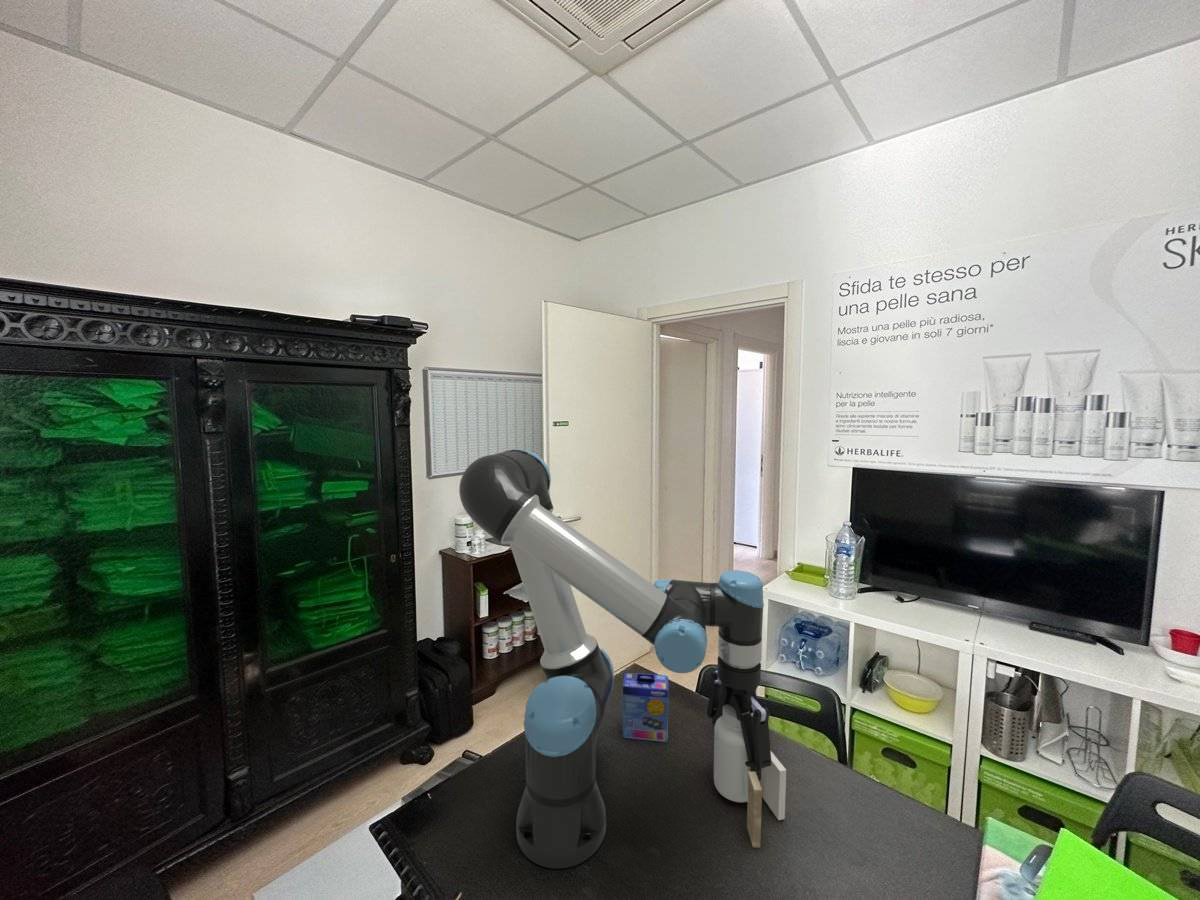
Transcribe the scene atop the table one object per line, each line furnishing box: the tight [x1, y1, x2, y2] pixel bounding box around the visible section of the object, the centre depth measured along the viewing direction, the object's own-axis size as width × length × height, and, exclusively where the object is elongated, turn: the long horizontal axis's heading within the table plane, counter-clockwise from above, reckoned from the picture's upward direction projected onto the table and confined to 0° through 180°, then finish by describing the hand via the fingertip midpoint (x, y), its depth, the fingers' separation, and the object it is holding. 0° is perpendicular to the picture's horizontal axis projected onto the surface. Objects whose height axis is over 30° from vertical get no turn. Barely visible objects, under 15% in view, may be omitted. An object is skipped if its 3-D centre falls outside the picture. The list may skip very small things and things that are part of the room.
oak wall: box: [746, 771, 763, 849], centre depth 90 cm, size 1×29×10 cm, turn 177°
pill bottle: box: [713, 704, 755, 803], centre depth 86 cm, size 8×8×15 cm
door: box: [759, 749, 787, 821], centre depth 90 cm, size 1×21×9 cm, turn 13°
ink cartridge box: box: [622, 672, 670, 743], centre depth 102 cm, size 10×6×14 cm, turn 83°
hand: (735, 776), depth 87 cm, fingers closed on pill bottle, 8 cm apart
